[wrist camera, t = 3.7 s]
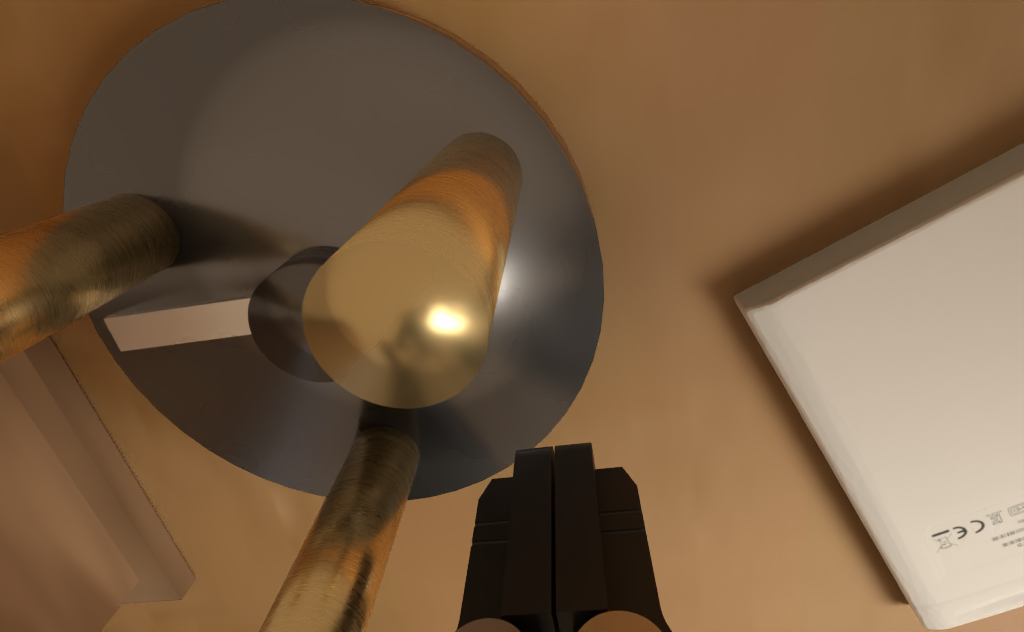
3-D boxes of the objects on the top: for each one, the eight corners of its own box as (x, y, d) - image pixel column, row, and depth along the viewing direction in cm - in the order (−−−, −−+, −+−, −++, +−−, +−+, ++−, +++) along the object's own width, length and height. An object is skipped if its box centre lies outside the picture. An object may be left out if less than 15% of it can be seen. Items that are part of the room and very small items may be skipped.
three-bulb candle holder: (563, -58, 10) (586, -289, 3) (619, 438, 14) (678, 790, 8) (23, 59, 11) (-786, 85, 4) (232, 475, 16) (-6, 797, 9)
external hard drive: (1111, 79, 11) (1210, 489, 15) (724, 287, 13) (898, 590, 18) (1196, 85, 10) (1280, 537, 14) (745, 316, 12) (930, 640, 16)
